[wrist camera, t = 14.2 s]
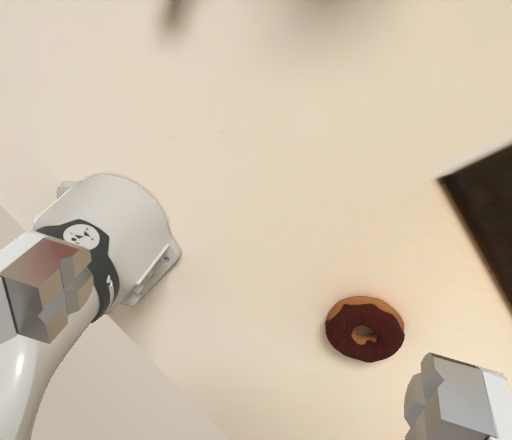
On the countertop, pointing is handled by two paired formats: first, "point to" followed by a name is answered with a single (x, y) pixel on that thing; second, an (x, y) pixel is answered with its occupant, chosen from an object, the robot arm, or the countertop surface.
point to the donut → (372, 316)
